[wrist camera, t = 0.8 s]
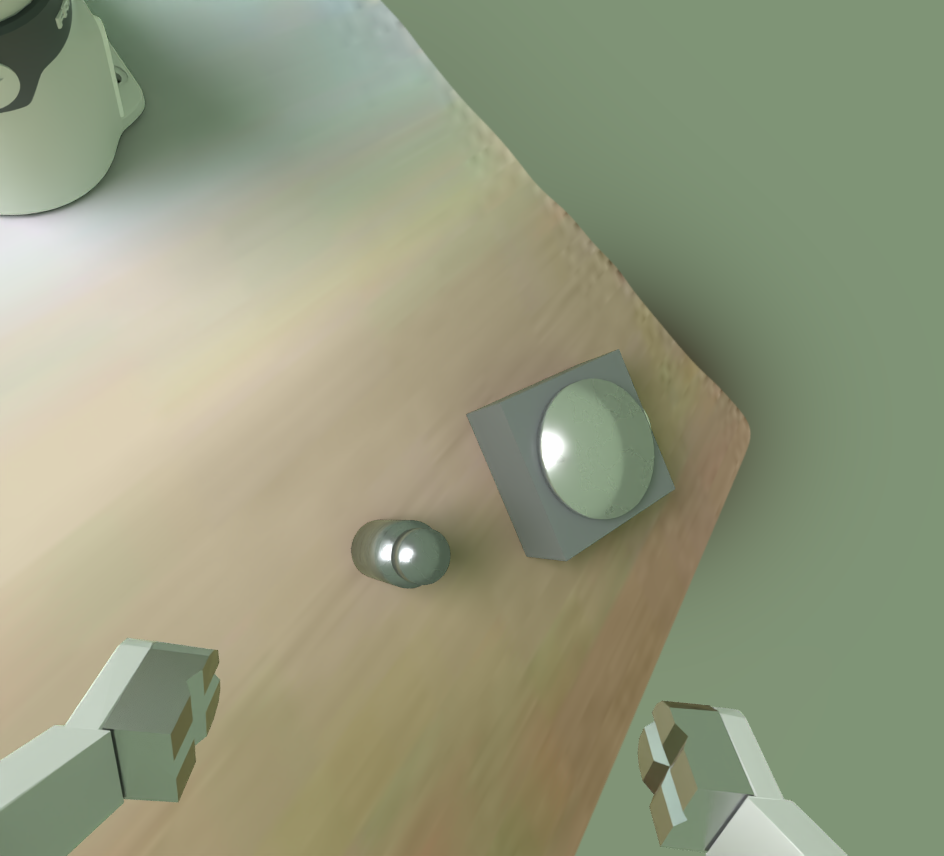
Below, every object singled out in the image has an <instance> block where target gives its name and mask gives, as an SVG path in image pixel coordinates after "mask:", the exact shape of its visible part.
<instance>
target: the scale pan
mask: <svg viewBox="0 0 944 856" xmlns="http://www.w3.org/2000/svg"><path fill="white" fill-rule="evenodd" d="M537 452H538V460H539V464H540V468H541V471H542V474H543V477H544V479H545V481H546V483H547V485H548V487H549V488H550V490H551V492H552V493H553V495H554V496H555V497H556V498H557V499H558V501H559V502H560V503H562V504H563V505H564V506H565V507H566V508H567V509H569V510H570V511H572V512H573V513H575V514H577V515H579V516H582V517H585V518H590V519H611V518H616V517H619V516H622V515H623V514H625V513H627V512H629V511H630V510H631V509H632V508H634V507H635V506H636V505H637V504H638V503H639V501H640V500H641V499H642V497H643V496H644V494H645V492H646V490H647V488H648V486H649V483H650V481H651V477H652V473H653V467H654V444H653V438H652V434H651V430H650V427H649V424H648V421H647V419H646V417H645V415H644V413H643V411H642V410H641V408H640V406H639V405H638V404H637V402H636V401H635V400H634V399H633V398H632V397H631V396H630V394H628V393H627V392H626V391H625V390H624V389H622V388H621V387H619V386H618V385H616V384H614V383H612V382H609V381H606V380H602V379H584V380H580V381H577V382H574V383H572V384H569V385H567V386H565V387H564V388H562V389H561V390H560V391H558V392H557V393H556V394H555V395H554V396H553V397H552V398H551V400H550V401H549V403H548V404H547V406H546V408H545V410H544V412H543V414H542V417H541V420H540V423H539V428H538V435H537Z"/></svg>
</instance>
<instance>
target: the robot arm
mask: <svg viewBox="0 0 944 856" xmlns="http://www.w3.org/2000/svg"><path fill="white" fill-rule="evenodd" d="M117 80H119V81H120V83H117ZM144 108H145V99H144V96H143V92H142V90H141V88H140V86H139V84H138V83H137V81H136V80H135V78H134V77H133V76H132V74H131V73H130V71H129V70H128V68H127V67H126V65H125V64H124V62H123V61H122V59H121V58H120V56H119V55H118V54H117V52H116V51H115V49H114V48H113V46H112V45H111V43H110V42H109V40H108V39H107V34H106V31H105V28H104V25H103V23H102V20H101V19H100V18H99V17H98V16H95V15H93V14H92V13H91V11H90V9H89V8H88V6H87V4H86V3H85V1H84V0H0V215H21V214H31V213H38V212H43V211H47V210H51V209H55V208H58V207H61V206H63V205H66V204H68V203H70V202H72V201H74V200H76V199H78V198H80V197H81V196H83V195H84V194H86V193H87V192H89V191H90V190H91V189H92V188H93V187H94V186H96V185H97V184H98V182H99V181H100V180H101V179H102V178H103V177H104V175H105V174H106V172H107V171H108V169H109V167H110V165H111V163H112V161H113V159H114V156H115V153H116V149H117V145H118V142H119V139H120V136H121V134H122V133H123V131H124V130H125V129H126V128H127V127H128V126H129V125H131V124H132V123H133V122H134V121H135V120H136V119H137V118H138V117H139V116H140V115H141V113H142V112H143V110H144ZM218 664H219V655H218V650H213V649H206V648H199V647H192V646H185V645H178V644H171V643H164V642H157V641H149V640H141V639H133V638H127V639H126V640H124V641H123V642H122V643H121V644H120V645H119V646H118V647H117V648H116V650H115V651H114V653H113V654H112V656H111V657H110V659H109V660H108V662H107V663H106V665H105V666H104V668H103V669H102V671H101V672H100V674H99V675H98V677H97V678H96V679H95V681H94V682H93V684H92V685H91V687H90V688H89V690H88V691H87V693H86V694H85V696H84V697H83V699H82V700H81V702H80V703H79V705H78V706H77V708H76V709H75V711H74V712H73V714H72V715H71V717H70V718H69V720H68V721H67V723H66V724H65V726H64V725H54V726H52V727H51V728H49V729H48V730H46V731H45V732H43V733H42V734H40V735H39V736H37V737H36V738H34V739H32V740H31V741H29V742H28V743H26V744H25V745H23V746H22V747H20V748H19V749H17V750H16V751H14V752H12V753H11V754H9V755H8V756H6V757H5V758H3V759H2V760H0V856H67V855H68V854H69V853H70V852H71V851H72V850H73V849H74V848H76V847H77V846H78V845H79V844H80V843H81V842H82V841H83V840H84V839H85V838H86V837H87V836H88V835H90V834H91V833H92V832H93V831H94V830H95V829H96V828H97V827H98V826H99V825H100V824H101V823H102V822H103V821H105V820H106V819H107V818H108V817H109V816H110V815H111V814H112V813H113V812H114V811H115V810H116V809H117V808H119V807H120V806H121V805H122V804H123V803H124V799H134V800H150V801H166V802H179V800H180V797H181V795H182V793H183V790H184V788H185V786H186V783H187V781H188V779H189V776H190V774H191V772H192V769H193V767H194V765H195V763H196V757H195V745H196V744H197V743H199V742H200V741H201V740H202V739H204V738H205V737H206V736H207V734H208V732H209V729H210V727H211V724H212V722H213V720H214V716H215V712H216V709H217V705H218V702H219V694H220V679H219V678H218V677H217V676H216V675H215V674H214V673H215V671H216V669H217V667H218ZM652 714H653V717H654V722H653V723H651V724H649V725H647V726H646V727H644V729H643V731H642V734H641V736H640V738H639V746H638V760H639V768H640V772H641V776H642V780H643V782H644V783H645V784H646V785H647V787H648V788H649V789H650V790H651V791H652V793H653V794H654V796H653V799H652V802H651V804H650V811H651V814H652V818H653V821H654V825H655V829H656V833H657V836H658V840H659V844H660V847H666V848H674V849H682V850H690V851H698V852H706V853H707V854H706V856H848V855H847V854H846V853H845V852H844V851H843V850H842V849H841V848H840V847H839V846H838V845H837V844H836V843H835V842H834V841H833V840H832V839H831V838H830V837H829V836H828V835H827V834H826V833H825V832H824V831H823V830H822V829H821V828H820V827H819V826H818V825H817V824H816V823H815V822H813V820H812V819H810V818H809V817H808V816H807V815H806V814H805V813H804V812H803V811H802V810H801V809H800V808H799V807H798V806H797V805H796V804H795V803H794V802H793V801H792V800H786V799H784V798H783V795H782V793H781V792H780V789H779V787H778V785H777V783H776V781H775V779H774V776H773V774H772V772H771V770H770V768H769V766H768V764H767V762H766V759H765V757H764V755H763V753H762V751H761V749H760V747H759V745H758V743H757V741H756V738H755V736H754V734H753V732H752V730H751V728H750V726H749V724H748V722H747V719H746V717H745V716H744V715H743V713H741V711H740V710H737V709H730V708H720V707H711V706H709V705H699V704H688V703H679V702H669V701H661V702H659V703H657V705H656V706H655V708H654V710H653V712H652Z"/></svg>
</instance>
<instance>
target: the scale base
mask: <svg viewBox="0 0 944 856" xmlns="http://www.w3.org/2000/svg"><path fill="white" fill-rule="evenodd" d="M584 379H602V380H606V381H609V382H612V383H614V384H616V385H618V386H619V387H621V388H622V389H624V390H625V391H626V392H627V393H628V394H630V396H631V397H632V398H633V399H634V400H635V401H636V402H637V404H638V405H639V406H640V408H641V410H642V411H643V413H644V415H645V417H646V419H647V421H648V424H649V427H650V430H651V425H650V421H649V418H648V416H647V414H646V412H645V411H644V409H643V408H642V405H641V403H640V400H639V398H638V395H637V393H636V390H635V388H634V385H633V383H632V380H631V378H630V375H629V373H628V371H627V368H626V366H625V363H624V361H623V358H622V356H621V353H620V351H619V349H618V350H615V351H613V352H610V353H607V354H605V355H602V356H599V357H597V358H594V359H591V360H589V361H586V362H584V363H581V364H578V365H576V366H574V367H572V368H569V369H567V370H565V371H563V372H560V373H558V374H556V375H554V376H551V377H549V378H547V379H545V380H542V381H540V382H538V383H536V384H533V385H531V386H529V387H527V388H524V389H522V390H520V391H518V392H515V393H513V394H511V395H509V396H507V397H504V398H502V399H500V400H498V401H495V402H493V403H491V404H489V405H486V406H484V407H482V408H480V409H477V410H475V411H473V412H471V413H468V414H466V415H467V417H468V419H469V422H470V424H471V426H472V429H473V431H474V434H475V436H476V438H477V441H478V443H479V445H480V448H481V450H482V452H483V455H484V457H485V459H486V462H487V464H488V467H489V469H490V471H491V474H492V476H493V478H494V481H495V483H496V485H497V488H498V490H499V492H500V495H501V497H502V499H503V502H504V504H505V507H506V509H507V511H508V514H509V516H510V518H511V521H512V523H513V525H514V528H515V530H516V532H517V535H518V537H519V540H520V542H521V544H522V547H523V549H524V551H525V554H526V556H527V557H535V558H544V559H552V560H561V561H568V560H569V559H571V558H572V557H574V556H575V555H577V554H578V553H580V552H581V551H583V550H584V549H586V548H587V547H589V546H590V545H592V544H593V543H595V542H596V541H598V540H599V539H601V538H602V537H604V536H605V535H607V534H608V533H610V532H611V531H613V530H614V529H616V528H617V527H619V526H620V525H622V524H623V523H625V522H626V521H628V520H629V519H631V518H632V517H634V516H635V515H637V514H638V513H640V512H641V511H643V510H644V509H646V508H647V507H649V506H650V505H652V504H653V503H655V502H656V501H658V500H659V499H661V498H662V497H664V496H665V495H667V494H668V493H670V492H671V491H673V490H674V489H675V487H674V484H673V482H672V479H671V477H670V474H669V472H668V470H667V467H666V465H665V462H664V460H663V457H662V455H661V452H660V450H659V447H658V445H657V442H656V440H655V437H654V435H653V432H652V430H651V434H652V438H653V444H654V467H653V473H652V477H651V481H650V483H649V486H648V488H647V490H646V492H645V494H644V496H643V497H642V499H641V500H640V501H639V503H638V504H637V505H636V506H635V507H634V508H632V509H631V510H630V511H629V512H627V513H625V514H623V515H622V516H619V517H616V518H611V519H590V518H585V517H582V516H579V515H577V514H575V513H573V512H572V511H570V510H569V509H567V508H566V507H565V506H564V505H563V504H562V503H560V502H559V501H558V499H557V498H556V497H555V496H554V495H553V493H552V492H551V490H550V488H549V487H548V485H547V483H546V481H545V479H544V477H543V474H542V471H541V468H540V464H539V460H538V452H537V435H538V428H539V423H540V420H541V417H542V414H543V412H544V410H545V408H546V406H547V404H548V403H549V401H550V400H551V398H552V397H553V396H554V395H555V394H556V393H557V392H558V391H560V390H561V389H562V388H564V387H565V386H567V385H569V384H572V383H574V382H577V381H580V380H584Z"/></svg>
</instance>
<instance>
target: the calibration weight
mask: <svg viewBox="0 0 944 856" xmlns="http://www.w3.org/2000/svg"><path fill="white" fill-rule="evenodd" d="M351 554H352V559H353V562H354V564H355V566H356V567H357V569H358V570H359V571H360V572H361V573H362V574H364V575H366V576H368V577H371V578H374V579H377V580H380V581H383V582H386V583H389V584H392V585H395V586H398V587H402V588H416V587H419V586H421V585H428V584H432V583H434V582H436V581H437V580H439V579H440V578H441V577H442V576H443V575H444V574H445V572H446V570H447V568H448V566H449V563H450V548H449V545H448V543H447V541H446V539H445V538H444V537H443V535H442V534H440V533H439V532H437V531H435V530H433V529H432V528H430V527H429V526H428V525H426V524H425V523H422V522H419V521H414V520H374V521H371V522H369V523H367V524H365V525H364V526H362V527H361V528H360V529H359V531H358V532H357V533H356V535H355V537H354V539H353V542H352V547H351Z"/></svg>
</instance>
